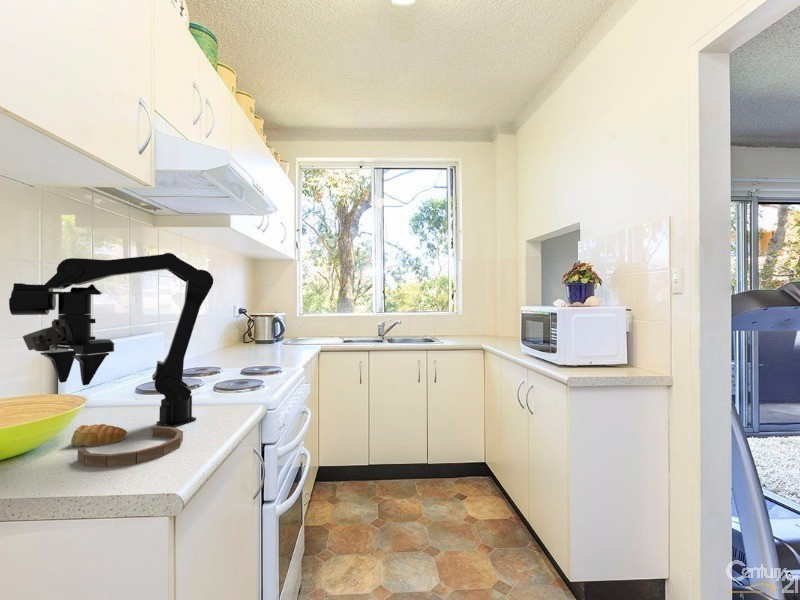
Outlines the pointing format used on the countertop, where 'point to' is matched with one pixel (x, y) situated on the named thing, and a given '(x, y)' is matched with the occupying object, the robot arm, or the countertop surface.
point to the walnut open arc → (135, 456)
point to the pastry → (97, 435)
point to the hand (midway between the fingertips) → (74, 383)
